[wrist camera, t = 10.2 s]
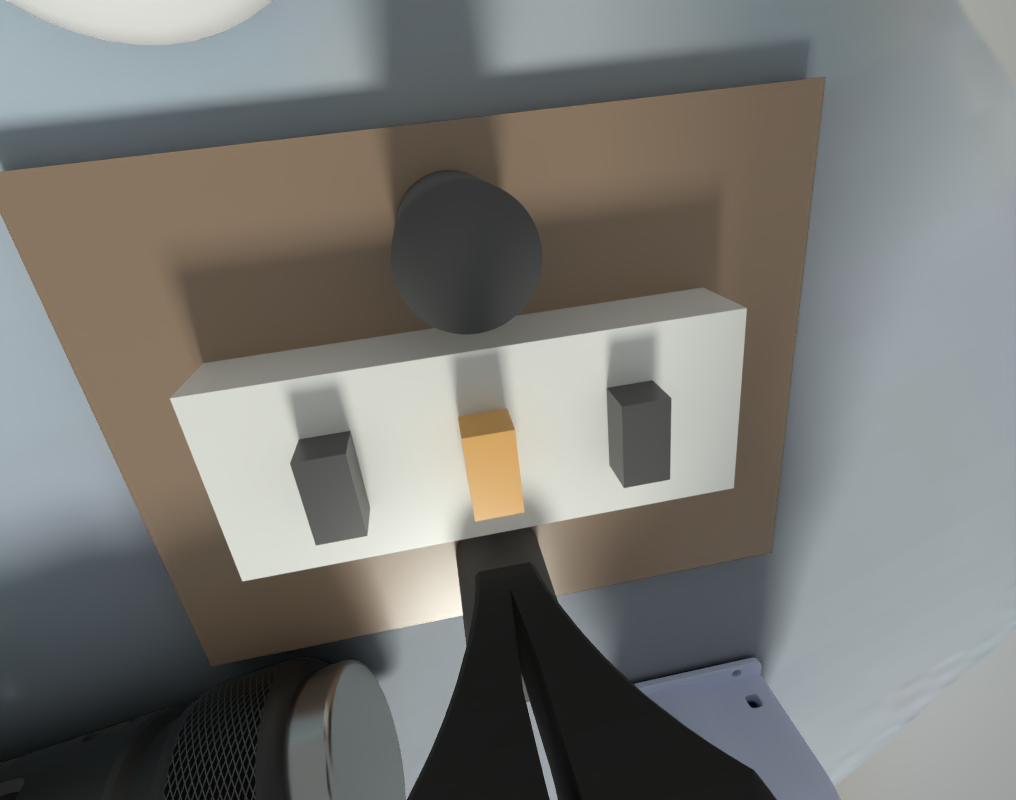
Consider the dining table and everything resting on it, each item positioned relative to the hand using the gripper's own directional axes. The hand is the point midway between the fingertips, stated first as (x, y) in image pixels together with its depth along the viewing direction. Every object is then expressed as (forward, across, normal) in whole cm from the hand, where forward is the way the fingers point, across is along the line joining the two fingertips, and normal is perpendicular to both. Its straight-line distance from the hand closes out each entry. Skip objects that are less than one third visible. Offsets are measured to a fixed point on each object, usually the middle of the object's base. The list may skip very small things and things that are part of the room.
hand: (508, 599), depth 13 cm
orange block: (+6, 0, 0) cm, 6 cm away
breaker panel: (+10, 0, 0) cm, 10 cm away
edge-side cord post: (+9, 0, -7) cm, 12 cm away
